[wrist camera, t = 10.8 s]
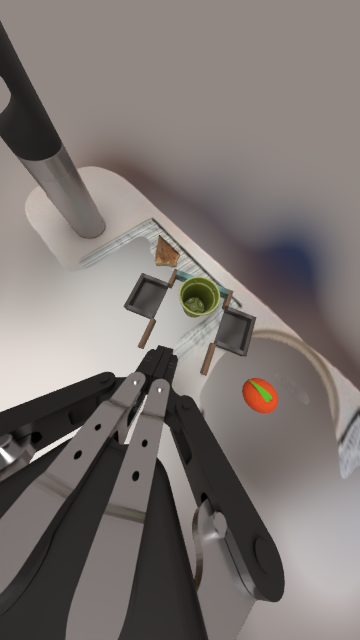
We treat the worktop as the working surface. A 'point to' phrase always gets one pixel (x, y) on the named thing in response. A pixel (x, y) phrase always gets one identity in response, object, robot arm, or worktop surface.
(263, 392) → the clementine
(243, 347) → the two-trap channel
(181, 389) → the worktop surface
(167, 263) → the shard
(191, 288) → the plant pot
